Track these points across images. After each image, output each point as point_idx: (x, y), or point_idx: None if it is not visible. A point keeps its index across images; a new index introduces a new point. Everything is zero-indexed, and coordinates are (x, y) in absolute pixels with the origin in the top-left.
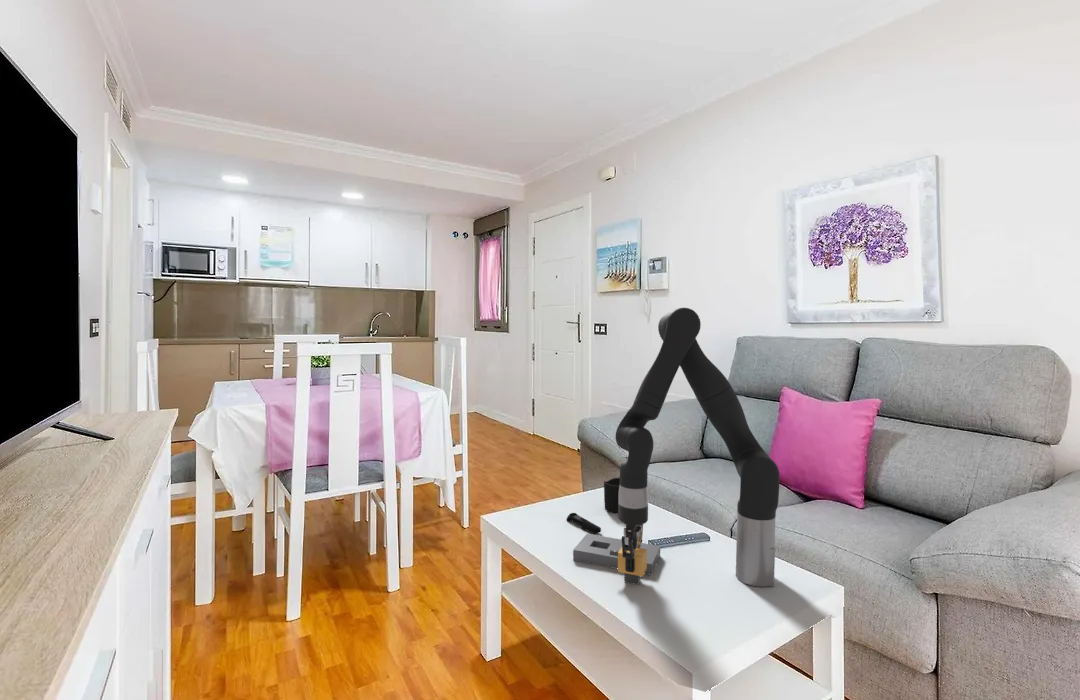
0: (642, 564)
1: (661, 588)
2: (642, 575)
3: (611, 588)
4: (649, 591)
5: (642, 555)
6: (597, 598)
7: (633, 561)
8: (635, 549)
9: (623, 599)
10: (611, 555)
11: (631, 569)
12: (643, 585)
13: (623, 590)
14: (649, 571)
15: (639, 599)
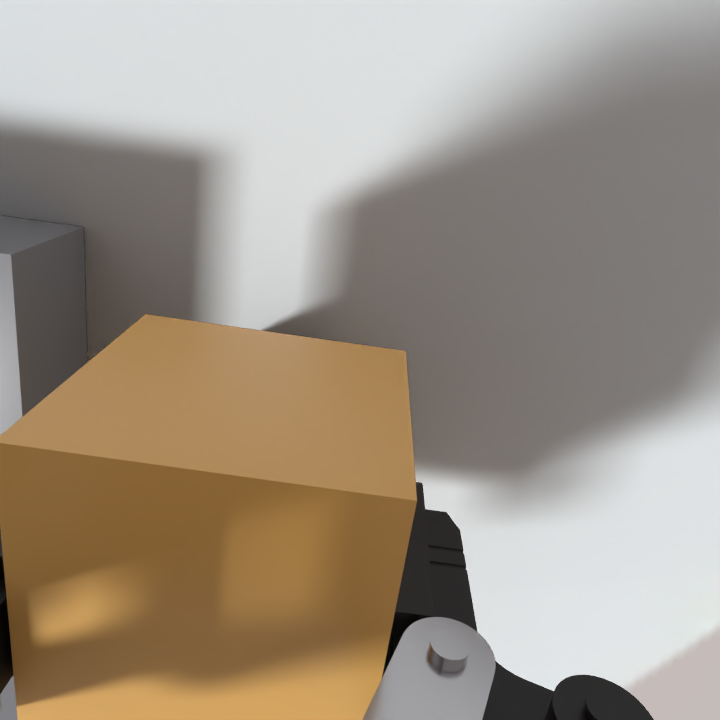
0: (411, 431)
1: (350, 93)
2: (404, 358)
3: (476, 567)
4: (453, 228)
5: (338, 512)
6: (667, 646)
7: (427, 583)
8: (110, 635)
9: (659, 459)
10: (13, 692)
11: (457, 532)
12: (340, 300)
13: (490, 473)
14: (65, 261)
15: (640, 319)
